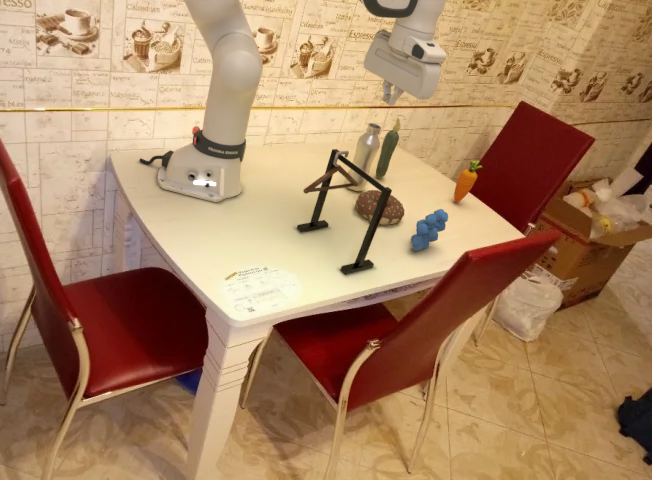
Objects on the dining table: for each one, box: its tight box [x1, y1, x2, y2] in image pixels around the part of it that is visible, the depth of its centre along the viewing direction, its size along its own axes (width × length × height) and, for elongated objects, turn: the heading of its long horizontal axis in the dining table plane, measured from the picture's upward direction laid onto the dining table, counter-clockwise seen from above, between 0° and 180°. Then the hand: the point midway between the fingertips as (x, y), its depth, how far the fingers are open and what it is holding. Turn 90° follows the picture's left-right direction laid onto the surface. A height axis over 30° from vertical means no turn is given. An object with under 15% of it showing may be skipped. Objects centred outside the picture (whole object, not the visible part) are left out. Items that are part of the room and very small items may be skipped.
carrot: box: [453, 160, 483, 204], centre depth 162 cm, size 5×5×15 cm
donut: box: [355, 189, 406, 226], centre depth 147 cm, size 14×14×5 cm
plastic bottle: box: [344, 122, 382, 192], centre depth 152 cm, size 6×7×20 cm
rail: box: [296, 148, 393, 276], centre depth 123 cm, size 9×20×22 cm, turn 35°
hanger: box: [303, 150, 358, 195], centre depth 123 cm, size 17×1×10 cm, turn 125°
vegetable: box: [375, 117, 401, 179], centre depth 162 cm, size 4×4×20 cm
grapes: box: [410, 208, 449, 252], centre depth 135 cm, size 12×7×12 cm, turn 129°
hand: (387, 103), depth 122 cm, fingers closed
